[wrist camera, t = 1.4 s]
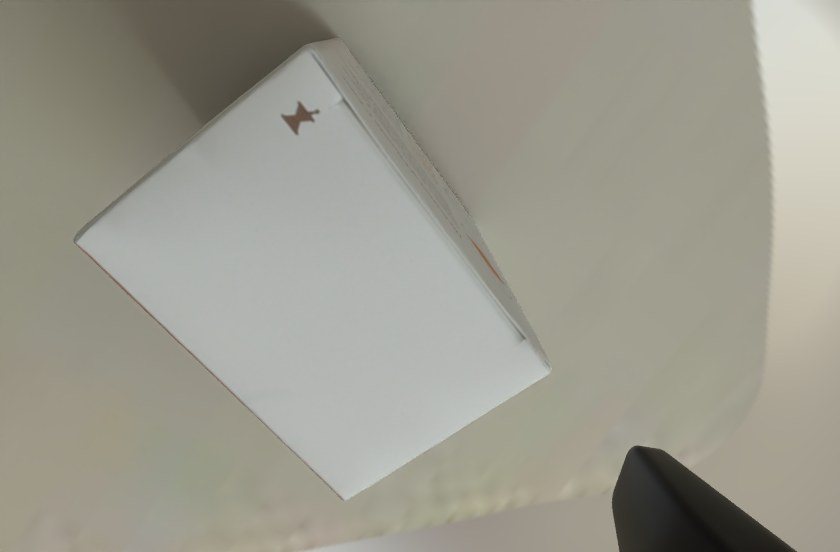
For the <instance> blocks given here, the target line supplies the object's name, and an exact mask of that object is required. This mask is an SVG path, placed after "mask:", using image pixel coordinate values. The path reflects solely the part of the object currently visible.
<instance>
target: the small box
mask: <svg viewBox="0 0 840 552" xmlns="http://www.w3.org/2000/svg"><path fill="white" fill-rule="evenodd" d="M74 243H75V244H76V245H77V246H78V247H79V248H80V249H81V250H83V251H84V252H85V253H86V254H87V255H88V256H89V257H90V258H91V259H92V260H93V261H94V262H95V263H96V264H97V265H98V266H100V267H101V268H102V269H103V270H104V271H105V272H106V273H107V274H108V275H109V276H110V277H111V278H112V279H113V280H114V281H115V282H116V283H117V284H118V285H119V286H120V287H121V288H122V289H123V290H124V291H125V292H126V293H127V294H129V295H130V296H131V297H132V298H133V299H134V300H135V301H136V302H137V303H138V304H139V305H140V306H141V307H142V308H143V309H144V310H145V311H146V312H147V313H148V314H149V315H150V316H152V317H153V318H154V319H155V320H156V321H157V322H158V323H159V324H160V325H161V326H162V327H163V328H164V329H165V330H166V331H167V332H168V333H169V334H170V335H171V336H173V337H174V338H175V339H176V340H177V341H178V342H179V343H180V344H181V345H182V346H183V347H184V348H185V349H186V350H187V351H188V352H189V353H191V354H192V355H193V356H194V357H195V358H196V359H197V360H198V361H199V362H200V363H201V364H202V365H203V366H204V367H205V368H206V369H207V370H208V371H209V372H210V373H211V374H212V375H214V376H215V377H216V378H217V379H218V380H219V381H220V382H221V383H222V384H223V385H224V386H225V387H226V388H227V389H228V390H229V391H230V392H231V393H232V394H233V395H234V396H235V397H236V398H237V399H238V400H239V401H240V402H241V403H243V404H244V405H245V406H246V407H247V408H248V409H249V410H250V411H251V412H252V413H253V414H254V415H255V416H256V417H257V418H258V419H259V420H260V421H261V422H263V423H264V424H265V425H266V426H267V427H268V428H269V429H270V430H271V431H272V432H273V433H274V434H275V435H276V436H277V437H278V438H279V439H280V440H281V441H282V442H283V443H284V444H285V445H286V446H287V447H288V448H289V449H290V450H292V451H293V452H294V453H295V454H296V455H297V456H298V457H299V458H300V459H301V460H302V461H303V462H304V463H305V464H306V465H307V466H308V467H309V468H310V469H311V470H312V471H313V472H314V473H315V474H316V475H317V476H318V477H319V478H320V479H322V480H323V481H324V482H325V483H326V484H327V485H328V486H329V487H330V488H331V489H332V490H333V491H334V492H335V493H336V494H337V495H338V496H339V497H340V498H341V499H342V500H348V499H350V498H351V497H353V496H354V495H356V494H357V493H359V492H361V491H362V490H364V489H366V488H368V487H369V486H371V485H373V484H374V483H376V482H378V481H379V480H381V479H382V478H384V477H386V476H387V475H389V474H390V473H392V472H394V471H395V470H397V469H398V468H400V467H401V466H403V465H405V464H406V463H408V462H409V461H411V460H412V459H414V458H415V457H417V456H419V455H420V454H422V453H424V452H425V451H427V450H428V449H430V448H432V447H433V446H435V445H436V444H438V443H439V442H441V441H443V440H444V439H446V438H447V437H449V436H451V435H452V434H454V433H455V432H457V431H458V430H460V429H462V428H463V427H465V426H466V425H468V424H470V423H471V422H473V421H474V420H476V419H477V418H479V417H481V416H482V415H484V414H485V413H487V412H489V411H490V410H492V409H493V408H495V407H496V406H498V405H500V404H501V403H503V402H504V401H506V400H508V399H509V398H511V397H513V396H514V395H516V394H517V393H519V392H521V391H522V390H524V389H526V388H527V387H529V386H530V385H532V384H534V383H535V382H537V381H539V380H540V379H542V378H544V377H545V376H547V375H548V374H549V373H550V372H551V368H552V365H551V363H550V360H549V359H548V357H547V355H546V353H545V351H544V349H543V348H542V346H541V344H540V342H539V340H538V338H537V336H536V334H535V333H534V331H533V329H532V327H531V325H530V323H529V322H528V320H527V318H526V316H525V314H524V313H523V311H522V309H521V307H520V305H519V303H518V301H517V299H516V298H515V296H514V294H513V292H512V291H511V289H510V287H509V285H508V283H507V281H506V280H505V278H504V276H503V274H502V272H501V270H500V268H499V267H498V265H497V263H496V261H495V259H494V257H493V256H492V254H491V252H490V250H489V248H488V246H487V244H486V242H485V240H484V239H483V237H482V235H481V233H480V231H479V229H478V227H477V226H476V224H475V222H474V221H473V219H472V218H471V217H470V216H469V214H468V213H467V212H466V210H465V209H464V207H463V206H462V205H461V203H460V202H459V201H458V199H457V198H456V196H455V195H454V194H453V192H452V191H451V190H450V188H449V187H448V186H447V184H446V183H445V182H444V180H443V179H442V177H441V176H440V175H439V173H438V172H437V171H436V169H435V168H434V167H433V165H432V164H431V162H430V161H429V160H428V158H427V157H426V156H425V154H424V153H423V152H422V150H421V149H420V147H419V146H418V145H417V143H416V142H415V141H414V139H413V138H412V136H411V135H410V134H409V132H408V131H407V130H406V128H405V127H404V125H403V124H402V123H401V121H400V120H399V119H398V117H397V116H396V114H395V113H394V112H393V110H392V109H391V108H390V106H389V105H388V103H387V102H386V101H385V99H384V98H383V96H382V95H381V94H380V92H379V91H378V90H377V88H376V87H375V86H374V84H373V83H372V81H371V80H370V79H369V77H368V76H367V75H366V73H365V72H364V71H363V69H362V68H361V66H360V65H359V64H358V62H357V61H356V60H355V58H354V57H353V55H352V54H351V53H350V51H349V50H348V48H347V47H346V46H345V44H344V43H343V41H342V40H341V39H340V38H338V37H335V38H332V39H329V40H324V41H317V42H313V43H308V44H306V45H304V46H303V47H301V48H300V49H299V50H298V51H296V52H295V53H294V54H293V55H291V56H290V57H289V58H288V59H286V60H285V61H284V62H283V63H281V64H280V65H279V66H278V67H276V68H275V69H274V70H273V71H271V72H270V73H269V74H268V75H266V76H265V77H264V78H263V79H261V80H260V81H259V82H258V83H256V84H255V85H254V86H253V87H251V88H250V89H249V90H248V91H246V92H245V93H244V94H243V95H241V96H240V97H239V98H238V99H236V100H235V101H234V102H233V103H231V104H230V105H229V106H228V107H226V108H225V109H224V110H223V111H221V112H220V113H219V114H218V115H216V116H215V117H214V118H213V119H212V120H210V121H209V122H208V123H207V124H206V125H204V126H203V127H202V128H201V129H200V130H198V131H197V132H196V133H195V134H194V135H192V136H191V137H190V138H189V139H187V140H186V141H185V142H184V143H183V144H181V145H180V146H179V147H178V148H177V149H175V150H174V151H173V152H172V153H171V154H169V155H168V156H167V157H166V158H165V159H163V160H162V161H161V162H160V163H159V164H158V165H156V166H155V167H154V168H153V169H152V170H150V171H149V172H148V173H147V174H146V175H144V176H143V177H142V178H141V179H140V180H138V181H137V182H136V183H135V184H134V185H133V186H131V187H130V188H129V189H128V190H127V191H125V192H124V193H123V194H122V195H121V196H119V197H118V198H117V199H116V200H115V201H113V202H112V203H111V204H110V205H109V206H108V207H106V208H105V209H104V210H103V211H102V212H100V213H99V214H98V215H97V216H95V217H94V218H93V219H92V220H91V221H89V222H88V223H87V224H86V225H85V226H84V227H83V228H82V229H81V230H79V231H78V233H77V234H76V236H75V238H74Z"/></svg>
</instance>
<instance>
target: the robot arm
mask: <svg viewBox="0 0 840 552" xmlns="http://www.w3.org/2000/svg"><path fill="white" fill-rule="evenodd" d="M612 509H613V516H614V521H615V527H616V534H617V539H618V545H619V551H620V552H797V551H795V550H794V549H793V548H791V547H790V546H789V545H788V544H786V543H785V542H784V541H782V540H781V539H780V538H778V537H777V536H776V535H774V534H773V533H772V532H770V531H769V530H768V529H766V528H765V527H764V526H762V525H761V524H760V523H759V522H757V521H756V520H755V519H753V518H752V517H751V516H749V515H748V514H747V513H745V512H744V511H743V510H741V509H740V508H739V507H737V506H736V505H735V504H734V503H732V502H731V501H730V500H728V499H727V498H726V497H724V496H723V495H722V494H720V493H719V492H718V491H716V490H715V489H714V488H712V487H711V486H710V485H709V484H707V483H706V482H705V481H703V480H702V479H701V478H699V477H698V476H697V475H695V474H694V473H693V472H691V471H690V470H689V469H687V468H686V467H685V466H683V465H682V464H681V463H680V462H678V461H677V460H676V459H674V458H673V457H672V456H670V455H669V454H668V453H666V452H665V451H663V450H661V449H657V448H650V447H643V446H634V447H632V448H631V449H630V450H629V451H628V453H627V455H626V458H625V461H624V464H623V467H622V469H621V472H620V475H619V478H618V480H617V483H616V486H615V489H614V492H613V497H612Z"/></svg>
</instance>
